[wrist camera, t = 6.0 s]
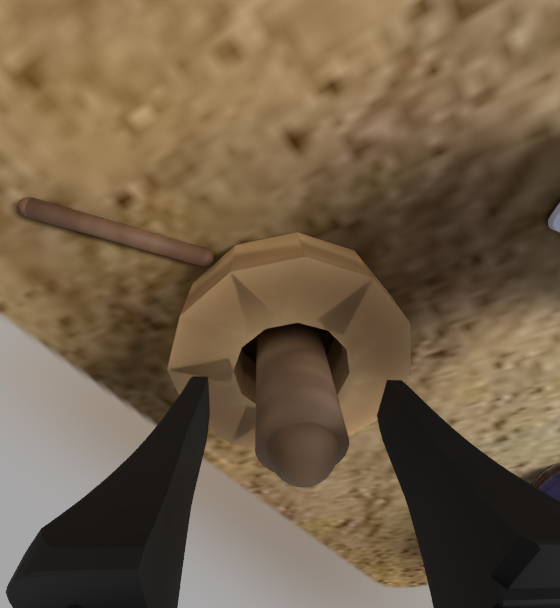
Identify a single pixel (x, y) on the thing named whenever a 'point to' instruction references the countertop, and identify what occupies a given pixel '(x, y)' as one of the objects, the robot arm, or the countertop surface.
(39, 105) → the countertop surface
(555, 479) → the flask
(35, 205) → the wooden ring with handle
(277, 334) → the brown rounded cylinder
